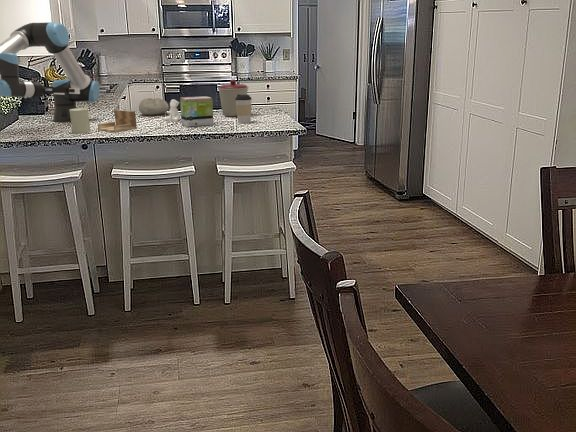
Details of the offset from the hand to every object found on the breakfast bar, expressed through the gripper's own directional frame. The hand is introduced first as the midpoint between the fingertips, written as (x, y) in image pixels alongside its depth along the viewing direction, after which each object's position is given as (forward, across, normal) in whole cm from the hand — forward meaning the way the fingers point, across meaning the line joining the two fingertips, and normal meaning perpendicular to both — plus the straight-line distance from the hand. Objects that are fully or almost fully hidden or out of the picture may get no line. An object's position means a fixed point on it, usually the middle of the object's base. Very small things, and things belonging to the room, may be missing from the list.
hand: (71, 91), depth 296 cm
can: (+6, -2, -20) cm, 21 cm away
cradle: (+20, +8, -19) cm, 29 cm away
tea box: (+54, +33, -16) cm, 65 cm away
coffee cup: (+74, +49, -14) cm, 90 cm away
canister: (+89, +27, -11) cm, 94 cm away
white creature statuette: (+56, +11, -14) cm, 59 cm away
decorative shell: (+66, -18, -11) cm, 69 cm away
